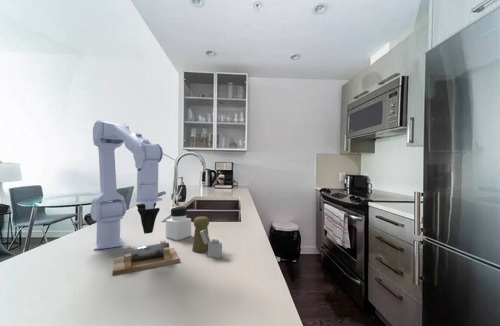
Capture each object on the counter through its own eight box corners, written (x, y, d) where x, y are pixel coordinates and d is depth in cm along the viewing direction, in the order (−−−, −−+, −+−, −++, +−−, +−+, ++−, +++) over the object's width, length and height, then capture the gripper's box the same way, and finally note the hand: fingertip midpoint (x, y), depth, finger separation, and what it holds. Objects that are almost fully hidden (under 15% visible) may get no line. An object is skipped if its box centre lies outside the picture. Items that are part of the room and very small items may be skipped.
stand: (114, 261, 67) (114, 247, 67) (173, 250, 75) (173, 238, 75) (112, 275, 58) (112, 259, 58) (179, 261, 66) (179, 248, 66)
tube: (124, 259, 65) (124, 247, 65) (167, 252, 71) (167, 240, 71) (123, 264, 62) (124, 251, 62) (169, 256, 68) (169, 244, 68)
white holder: (222, 256, 70) (222, 230, 70) (219, 258, 69) (219, 232, 69) (202, 253, 72) (202, 228, 73) (199, 255, 71) (199, 230, 71)
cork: (206, 253, 73) (206, 219, 73) (188, 252, 74) (189, 218, 74) (212, 247, 79) (213, 215, 79) (196, 245, 80) (197, 214, 80)
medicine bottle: (191, 236, 91) (191, 206, 91) (177, 240, 85) (177, 209, 85) (179, 233, 95) (179, 204, 95) (165, 237, 89) (165, 207, 89)
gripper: (165, 185, 62) (165, 234, 62) (159, 182, 75) (158, 222, 75) (137, 186, 59) (136, 237, 59) (135, 182, 72) (134, 225, 71)
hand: (147, 229), depth 67 cm, fingers open, 7 cm apart
